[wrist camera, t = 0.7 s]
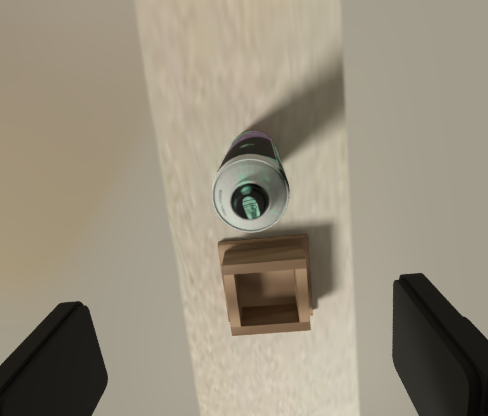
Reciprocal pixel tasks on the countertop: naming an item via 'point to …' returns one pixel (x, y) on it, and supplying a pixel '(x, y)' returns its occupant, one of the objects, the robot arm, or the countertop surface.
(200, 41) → the countertop surface
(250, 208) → the spray can
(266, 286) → the can holder
